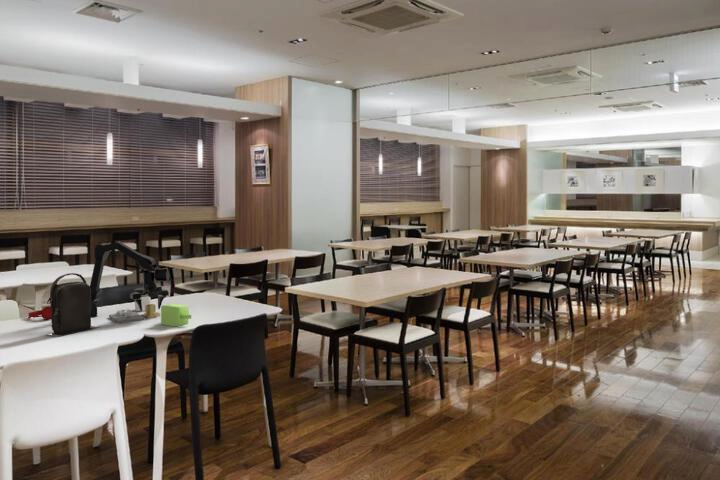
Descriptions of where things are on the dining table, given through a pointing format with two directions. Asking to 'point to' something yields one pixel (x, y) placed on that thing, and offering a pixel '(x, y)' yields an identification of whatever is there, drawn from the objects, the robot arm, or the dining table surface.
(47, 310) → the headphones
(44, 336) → the dining table surface
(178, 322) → the gearbox
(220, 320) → the dining table surface
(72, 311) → the shoulder bag
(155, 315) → the brass gear
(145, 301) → the jar
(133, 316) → the plate
